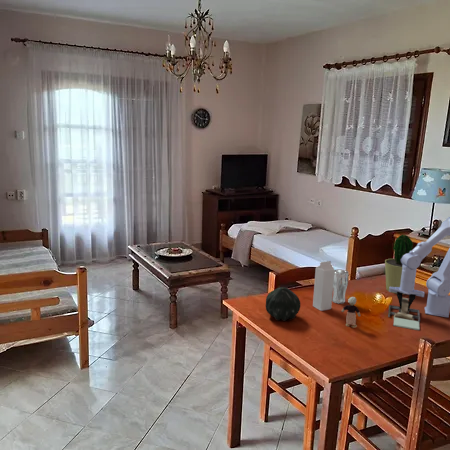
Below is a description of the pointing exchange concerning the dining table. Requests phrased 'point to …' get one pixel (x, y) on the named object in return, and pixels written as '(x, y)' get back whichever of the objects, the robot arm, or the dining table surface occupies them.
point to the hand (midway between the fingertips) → (404, 309)
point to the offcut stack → (404, 316)
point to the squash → (282, 304)
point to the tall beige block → (404, 305)
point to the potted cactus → (397, 261)
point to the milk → (323, 286)
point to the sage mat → (406, 323)
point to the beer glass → (340, 286)
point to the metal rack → (408, 312)
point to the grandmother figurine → (351, 312)
